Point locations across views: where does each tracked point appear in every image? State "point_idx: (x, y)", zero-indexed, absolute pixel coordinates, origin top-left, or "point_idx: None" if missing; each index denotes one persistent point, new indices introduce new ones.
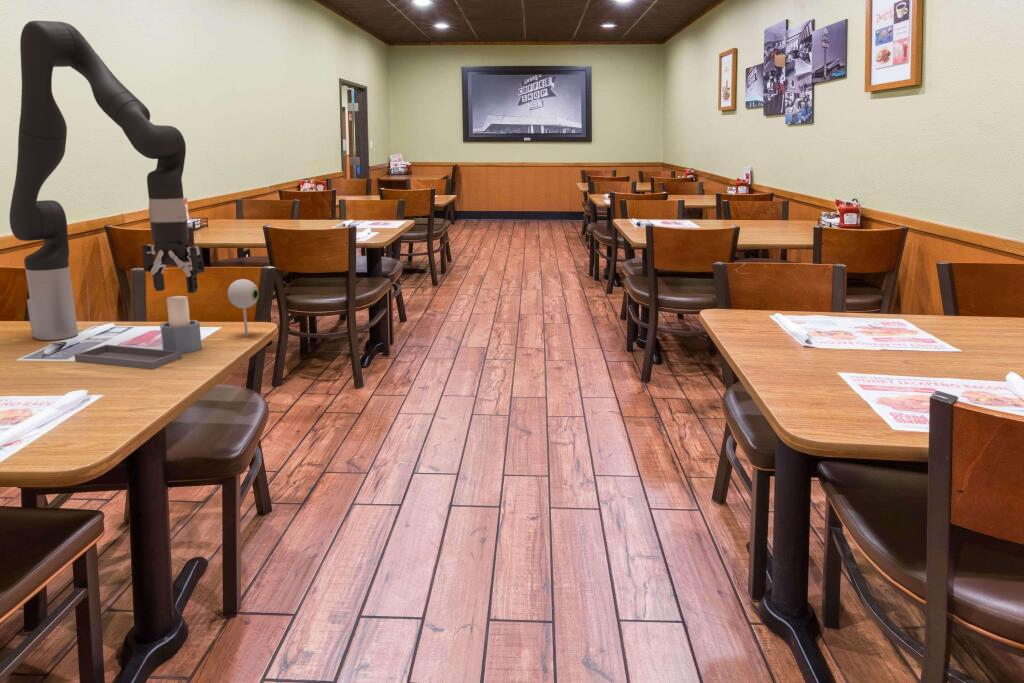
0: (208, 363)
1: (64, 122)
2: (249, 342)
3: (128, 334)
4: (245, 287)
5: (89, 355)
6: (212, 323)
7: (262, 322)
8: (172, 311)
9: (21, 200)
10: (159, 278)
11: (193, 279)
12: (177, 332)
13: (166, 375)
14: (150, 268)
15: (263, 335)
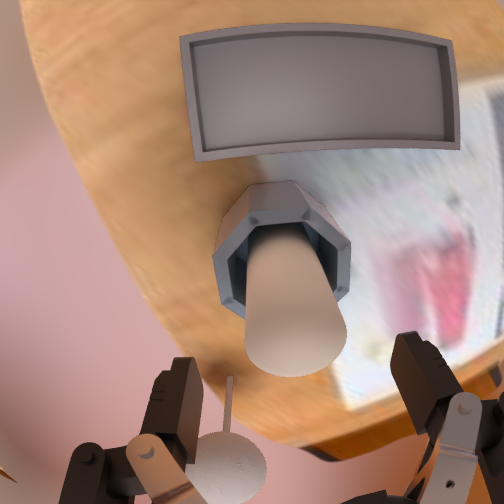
0: (132, 185)
1: None
2: (202, 361)
3: (488, 303)
4: (190, 479)
5: (414, 36)
6: (380, 415)
7: (295, 446)
8: (283, 268)
9: None
10: (420, 396)
11: (145, 427)
12: (241, 215)
13: (143, 53)
14: (490, 421)
15: (222, 402)
